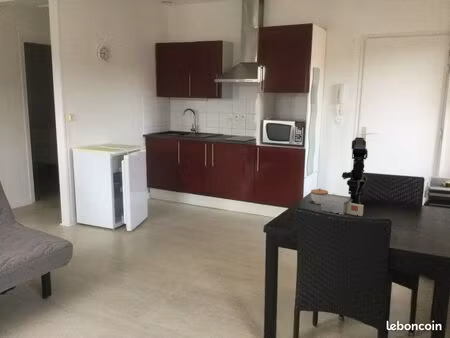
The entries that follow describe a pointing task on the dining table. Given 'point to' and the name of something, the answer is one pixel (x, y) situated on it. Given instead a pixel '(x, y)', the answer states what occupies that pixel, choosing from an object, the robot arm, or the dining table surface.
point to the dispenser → (334, 204)
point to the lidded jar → (318, 195)
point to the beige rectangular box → (354, 209)
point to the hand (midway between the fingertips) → (356, 194)
